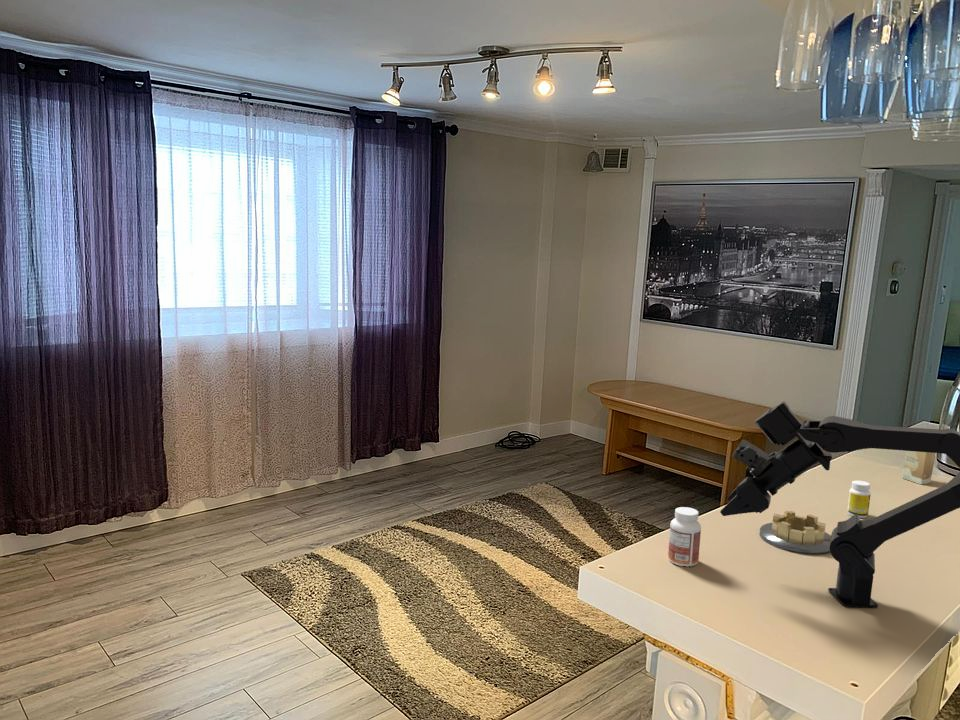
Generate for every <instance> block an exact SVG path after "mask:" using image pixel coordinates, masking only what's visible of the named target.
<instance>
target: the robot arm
mask: <svg viewBox="0 0 960 720" xmlns="http://www.w3.org/2000/svg"><path fill="white" fill-rule="evenodd" d="M753 422H754V423H755V425H756V426H757V427H758V428H759V430H760V431H762V434H764V435H765V437H766V438H768V440H769V441H770V442H771V443H772V445H776V444H777V445H778V446H780V445H781V446H782V447H783V446H785V445H786V444H788V443H790V442H791V441H792V440H794V439H795V438H797V439H795V440H794V441H793V442H791V443H790V444H788V445H787V446H785V447H783V448H782V449H780V450H779V451H772V452H771V453H770V454H769V453H767V452H765V451H764V450H763V449H761V448H759V447H758V446H756V445H754V444H752V443H751V442H750V441H748V440H746V439H741V441H740V443H738V445H737V447H736V449H735V450H734V452H733V453H732V455H731V457H732V458H733V459H734V460H736V461H737V462H738V461H739V462H740V463H743V464H744V465H745V466H746V469H745V476H744V479H743V480H742V481H741V482H739V483H738V484H737V486H736V488H735V489H734V490H733V491H732V492H731V493H730V494H729V495H728V496H727V500H728V501H729V502H728V503H726V505H725V506H724V507H722V509H721V510H720V512H719V513H720V514H721V515H722V516H723V517H727V516H728V517H729V516H734V515H742V514H749V513H750V514H751V513H757V514H758V513H759V514H761V513H763V512H765V511H766V510H768V509H769V507H770V505H771V500H772V497H773V496H775V495H776V494H778V491H779V490H780V489H782V488H783V487H785V486H786V485H788V484H790V485H792V484H793V483H795V481H796V479H797V478H799V477H800V476H801V475H802V474H803V475H804V474H805V473H806V472H807V471H809V470H810V469H812V468H813V467H815V466H816V465H818V464H820V466H822V468H823V469H824V470H826V471H830V470H831V469H830V468H831V461H832V459H833V454H832V453H834V454H835V453H847V452H856V451H860V450H861V451H862V450H867V449H874V450H877V449H879V450H890V451H891V450H892V451H902V452H904V451H905V452H906V451H916V452H930V453H935V454H944V455H946V456H947V457H948V458H950V460H951V461H952V462H953V463H954V464H956V466H957V467H958V468H959V469H960V431H958V430H957V429H953V428H944V429H938V428H925V427H923V428H922V427H906V426H905V427H904V426H890V425H888V426H887V425H875V424H874V425H872V424H867V423H865V422H861V421H858V420H854V419H851V418H847V417H841V416H835V415H832V416H825V418H823V419H822V420H800V419H799V418H798V417H797V415H796V414H795V413H793V411H792V410H791V408H790V406H789V405H788V404H787V402H785V401H782V402H780V403H779V404H777V405H775V406H773V407H772V408H768V409H767V410H766V411H764V412H763V413H762V414H761V415H760V416H758V417H757V418H756V419H755V420H754V421H753ZM957 509H960V471H959V472H958V473H956V474H955V476H953V477H952V478H951V480H949V481H948V482H947V483H945V484H944V485H942V486H939V487H937V488H936V489H934V490H933V489H932V491H929V492H927V493H925V494H923V495H921V496H919V497H916V498H914V499H912V500H910V501H908V502H906V503H904V504H901V505H900V506H897V507H895V508H892V509H890V510H889V511H887V512H884V513H882V514H880V515H878V516H876V517H874V518H870V519H869V518H868V519H862V520H861V518H859V516H858V514H855V515H854V516H851V517H849V518H848V519H846V520H843V521H837V525H836V527H835V528H833V530H832V531H831V534H830V535H831V540H830V553H829V554H830V555H831V556H832V558H833V559H834V560H835V561H836V562H838V569H837V577H836V585H835V586H836V587H828V589H827V591H828V593H830V594H831V595H832V596H833V597H834V598H835V599H836V600H837V601H838V602H839V603H840V604H841V605H842V606H844V607H851V608H878V606H879V604H878V603H877V602H876V601H875V600H874V599H873V598H872V591H873V583H874V574H875V572H876V559H875V558H876V557H875V555H876V554H875V553H874V552H875V551H876V550H877V549H878V548H880V546H881V545H883V544H884V543H885V542H887V541H890V540H892V539H893V538H896V537H897V536H900V535H903V534H904V533H906V532H909V531H911V530H913V529H916V528H917V527H921V526H922V525H925V524H927V523H928V522H931V521H933V520H935V519H939V518H940V517H942V516H944V515H947V514H949V513H951V512H953V511H956V510H957Z"/></svg>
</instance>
